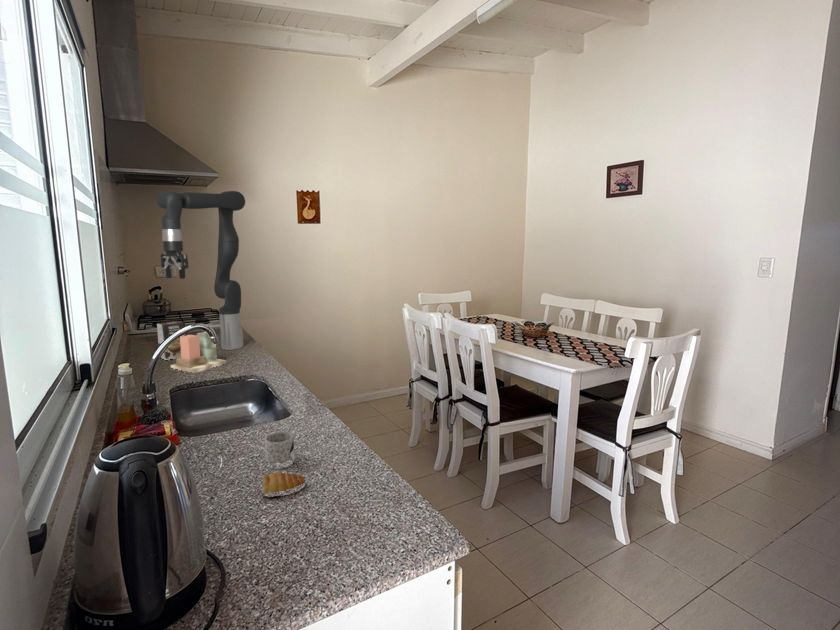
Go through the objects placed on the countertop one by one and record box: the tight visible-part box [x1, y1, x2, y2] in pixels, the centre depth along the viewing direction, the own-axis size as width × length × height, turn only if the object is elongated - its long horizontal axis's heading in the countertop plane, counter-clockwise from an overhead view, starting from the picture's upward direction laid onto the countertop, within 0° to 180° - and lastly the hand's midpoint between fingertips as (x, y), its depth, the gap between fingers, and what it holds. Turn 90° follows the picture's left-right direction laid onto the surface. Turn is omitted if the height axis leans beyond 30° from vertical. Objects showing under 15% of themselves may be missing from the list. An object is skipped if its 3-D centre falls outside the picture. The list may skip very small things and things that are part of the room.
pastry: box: [261, 471, 306, 493], centre depth 104 cm, size 9×7×4 cm
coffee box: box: [156, 320, 185, 361], centre depth 214 cm, size 9×6×16 cm
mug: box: [264, 431, 295, 463], centre depth 118 cm, size 10×7×7 cm
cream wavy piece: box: [170, 331, 227, 374], centre depth 201 cm, size 16×14×14 cm
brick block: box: [180, 334, 200, 360], centre depth 197 cm, size 5×5×9 cm
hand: (175, 278), depth 207 cm, fingers open, 8 cm apart
